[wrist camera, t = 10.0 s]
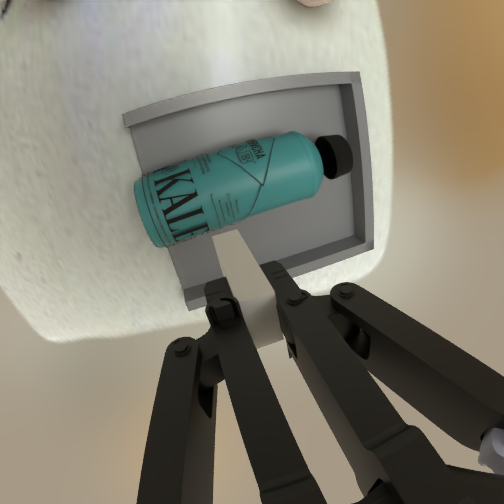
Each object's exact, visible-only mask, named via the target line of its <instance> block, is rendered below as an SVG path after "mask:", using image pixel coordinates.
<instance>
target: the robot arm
mask: <svg viewBox="0 0 504 504" xmlns="http://www.w3.org/2000/svg"><path fill="white" fill-rule="evenodd" d="M212 238H213V242H214V245H215V249H216V252H217V256H218V259H219V262H220V266H221V269H222V273H223V276H224V277H222V278H219V279H215V280H212V281H209V282H206V285H205V287H204V293H205V297H206V301H207V306H206V309H205V312H206V315H207V317H208V320H209V322H210V325H211V327H210V329H209V330H208V332H207V333H206V334H205V335H203V336H202V337H200V338H198V339H197V340H195V339H193V338H191V337H182V338H178V339H176V340H175V341H173V342H171V343H170V345H168V347H167V349H166V352H165V356H164V361H163V365H162V369H161V374H160V378H159V383H158V387H157V392H156V397H155V401H154V406H153V411H152V416H151V421H150V426H149V431H148V436H147V442H146V447H145V453H144V459H143V465H142V470H141V477H140V483H139V490H138V497H137V504H213V476H214V475H213V474H214V449H215V447H214V446H215V426H216V406H217V388H218V386H217V384H218V383H219V382H221V381H223V380H224V379H225V381H226V385H227V388H228V391H229V395H230V399H231V402H232V405H233V409H234V412H235V416H236V419H237V422H238V426H239V429H240V432H241V435H242V438H243V442H244V445H245V448H246V451H247V454H248V457H249V460H250V463H251V466H252V469H253V472H254V475H255V478H256V481H257V483H258V487H259V490H260V498H261V502H262V504H327V502H326V500H325V498H324V496H323V494H322V492H321V490H320V488H319V486H318V484H317V482H316V480H315V479H314V477H313V476H312V474H311V473H310V471H309V469H308V466H307V464H306V462H305V460H304V458H303V456H302V453H301V451H300V449H299V447H298V445H297V443H296V440H295V438H294V436H293V434H292V432H291V429H290V427H289V425H288V422H287V420H286V418H285V415H284V413H283V411H282V409H281V406H280V404H279V402H278V399H277V397H276V395H275V392H274V390H273V388H272V385H271V383H270V381H269V378H268V376H267V373H266V371H265V369H264V366H263V364H262V362H261V359H260V357H259V354H258V352H257V348H260V347H263V346H266V345H269V344H271V343H274V342H277V341H280V340H283V334H284V336H285V338H286V342H287V347H288V352H289V358H292V357H293V359H294V361H295V362H296V364H297V366H298V368H299V370H300V372H301V374H302V376H303V378H304V379H305V381H306V383H307V385H308V387H309V389H310V391H311V393H312V395H313V396H314V398H315V400H316V402H317V404H318V406H319V408H320V410H321V412H322V413H323V415H324V417H325V419H326V421H327V423H328V425H329V426H330V428H331V430H332V432H333V434H334V436H335V438H336V439H337V441H338V443H339V445H340V447H341V449H342V451H343V452H344V454H345V456H346V458H347V460H348V461H349V463H350V465H351V467H352V469H353V471H354V473H355V476H356V480H357V483H358V486H359V488H360V490H361V492H362V494H363V496H364V498H363V499H362V500H360V501H359V502H356V503H353V504H504V377H503V376H502V375H500V374H499V373H497V372H496V371H494V370H493V369H491V368H490V367H488V366H487V365H485V364H484V363H482V362H481V361H479V360H478V359H476V358H475V357H473V356H471V355H470V354H468V353H467V352H465V351H464V350H462V349H461V348H459V347H457V346H456V345H454V344H453V343H451V342H450V341H448V340H446V339H445V338H443V337H441V336H440V335H439V334H437V333H435V332H434V331H432V330H431V329H429V328H427V327H426V326H424V325H423V324H421V323H419V322H418V321H416V320H415V319H413V318H411V317H410V316H408V315H406V314H405V313H403V312H402V311H400V310H398V309H397V308H395V307H393V306H392V305H390V304H388V303H387V302H385V301H383V300H382V299H380V298H379V297H377V296H375V295H374V294H372V293H370V292H369V291H367V290H365V289H364V288H362V287H360V286H358V285H356V284H354V283H349V282H344V283H339V284H337V285H335V286H334V287H333V288H332V289H331V291H330V295H323V296H311V294H310V293H308V292H307V291H305V290H302V289H300V288H299V287H298V285H297V284H296V283H295V281H294V280H293V279H292V277H291V276H290V275H289V273H288V272H287V271H286V269H285V268H284V267H283V265H282V264H281V263H279V262H277V261H275V260H273V261H270V262H267V263H264V264H261V265H258V263H257V261H256V260H255V258H254V256H253V255H252V253H251V251H250V250H249V248H248V246H247V245H246V243H245V241H244V240H243V238H242V236H241V235H240V233H239V231H238V230H237V229H235V230H232V231H229V232H225V233H222V234H219V235H215V236H212ZM282 332H283V333H282ZM367 370H368V371H369V372H370V373H371V374H373V375H374V376H375V377H376V378H377V379H379V380H380V381H381V382H383V383H384V384H385V385H386V386H387V387H389V388H390V389H391V390H392V391H394V392H395V393H396V394H397V395H399V396H400V397H401V398H403V399H404V400H405V401H406V402H408V403H409V404H410V405H411V406H412V407H414V408H415V409H416V410H418V411H419V412H420V413H421V414H423V415H424V416H425V417H426V418H428V419H429V420H430V421H431V422H433V423H434V424H435V425H436V426H438V427H439V428H440V429H442V430H443V431H444V432H446V433H447V434H448V435H449V436H451V437H452V438H453V439H455V440H456V441H458V442H459V443H461V444H462V445H464V446H466V447H468V448H470V449H473V450H476V451H479V453H480V455H479V458H478V462H479V464H480V465H481V466H487V467H489V468H491V469H492V470H493V472H494V473H495V474H493V473H486V472H481V471H474V470H470V469H465V468H460V467H455V466H451V465H446V464H445V463H444V461H443V460H442V459H441V457H440V456H439V454H438V453H437V451H436V450H435V449H434V447H433V446H432V444H431V443H430V442H429V440H428V439H427V437H426V436H425V435H424V433H423V432H422V431H421V430H420V429H419V428H418V427H416V426H413V425H408V424H406V423H405V422H404V421H403V419H402V418H401V417H400V415H399V414H398V412H397V411H396V410H395V408H394V407H393V405H392V404H391V403H390V401H389V400H388V398H387V397H386V396H385V394H384V393H383V392H382V390H381V389H380V388H379V386H378V385H377V383H376V382H375V380H374V379H373V378H372V376H371V375H370V374H369V372H368V371H367Z"/></svg>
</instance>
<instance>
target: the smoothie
mask: <svg viewBox="0 0 504 504" xmlns="http://www.w3.org/2000/svg"><path fill="white" fill-rule="evenodd" d="M297 1H298V2H300V3H301V4H303V5H305V6H309V7H316V6H319V5H322V4H325V3H328V2H331V1H334V0H297Z"/></svg>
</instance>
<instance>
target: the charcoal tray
mask: <svg viewBox="0 0 504 504" xmlns="http://www.w3.org/2000/svg"><path fill="white" fill-rule="evenodd" d="M122 116H123V120H124V124H125V127H130V130H131V134H132V138H133V141H134V145H135V148H136V152H137V155H138V159H139V162H140V166H141V169H142V172H143V176H145V175H148V174H152V173H153V171H154V170H155V171H156V170H158V169H161V168H162V167H165V166H167V167H170V166H173V165H177V164H179V163H178V162H179V161H180V163H182V160H183V161H184V162H185V159H186V161H188V160H191V159H192V158H193V159H194V158H196V156H199V157H200V156H204V155H205V154H210V153H213V152H216V151H220V150H223V149H226V148H230V147H227V146H230V145H231V147H232V146H234V145H235V146H237V145H240V144H244V143H247V142H245V141H247V140H250V141H248V142H251V139H252V140H253V139H254V140H253V141H255V140H258V139H263V138H267V137H272V136H276V135H280V134H284V133H287V132H289V131H297V132H299V133H301V134H302V135H304V136H305V137H307V138H308V139H309V140H311V141H312V142H313V143H314V145H315V141H316V139H317V138H318V137H320V136H325V135H327V136H328V135H336V134H337V135H341V136H343V137H344V138H345V139H346V140H347V142H348V143H349V145H350V147H351V150H352V154H353V168H352V170H351V171H350V172H349V173H348V174H345V175H342V176H340V177H338V178H336V179H332V180H330V179H328V178H326V177H325V176H324V174H323V179H322V182H321V185H320V187H319V190H318V191H317V193H316V195H315V196H314V197H312V198H308V199H303V200H300V201H297V202H294V203H290V204H287V205H284V206H281V207H278V208H275V209H272V210H269V211H266V212H263V213H260V214H256V215H253V216H250V217H247V218H245V219H243V220H240V221H237V222H235V223H232V224H234V225H226V226H223V227H224V228H223V227H220V228H217V229H214V230H213V232H212V230H211V231H208V234H207V232H205V233H202V234H203V235H202V234H199V235H196V236H195V238H194V236H193V237H192V238H193V239H192V238H191V240H188V241H185V242H182V241H184V240H182V241H179V242H176V243H173V244H175V245H174V246H172V245H173V244H171V245H168V246H167V247H168V250H169V253H170V256H171V258H172V261H173V264H174V266H175V269H176V272H177V274H178V277H179V279H180V282H181V284H182V287H183V290H184V298H185V303H186V306H187V308H188V310H189V311H191V310H194V309H197V308H201V307H204V306H207V301H206V297H205V293H204V287H205V285H206V282H209V281H212V280H215V279H219V278H222V277H224V276H223V273H222V269H221V266H220V262H219V259H218V256H217V252H216V249H215V245H214V242H213V238H212V236H215V235H219V234H222V233H225V232H229V231H232V230H235V229H237V230H238V231H239V233H240V235H241V236H242V238H243V240H244V241H245V243H246V245H247V246H248V248H249V250H250V251H251V253H252V255H253V256H254V258H255V260H256V261H257V263H258V265H261V264H264V263H267V262H270V261H273V260H275V261H277V262H279V263H281V264H282V265H283V267H284V268H285V269H286V271H287V272H288V273H289V275H290V276H291V277H292V278H293V277H296V276H299V275H302V274H305V273H308V272H311V271H314V270H317V269H319V268H322V267H325V266H328V265H331V264H334V263H336V262H339V261H342V260H345V259H347V258H350V257H353V256H356V255H358V254H361V253H364V252H367V251H369V250H372V249H374V213H373V186H372V169H371V156H370V145H369V135H368V126H367V117H366V110H365V103H364V96H363V89H362V83H361V77H360V72H328V73H313V74H301V75H291V76H282V77H274V78H266V79H260V80H253V81H247V82H241V83H236V84H230V85H225V86H220V87H216V88H211V89H207V90H202V91H198V92H194V93H190V94H186V95H182V96H178V97H175V98H171V99H168V100H164V101H161V102H157V103H154V104H151V105H148V106H145V107H142V108H139V109H136V110H133V111H130V112H127V113H124V114H122ZM240 142H241V143H240ZM233 144H234V145H233ZM222 148H223V149H222ZM200 154H202V155H200ZM174 163H176V164H174ZM171 164H172V165H171ZM168 165H170V166H168ZM165 168H166V167H165ZM149 172H150V173H149ZM147 173H148V174H147ZM241 221H242V222H241ZM239 222H240V223H239ZM221 228H222V229H221ZM218 229H219V230H218ZM215 230H216V231H215ZM188 239H190V238H188ZM185 240H187V239H185ZM178 243H179V244H178ZM169 246H170V247H169Z"/></svg>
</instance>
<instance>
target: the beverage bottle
mask: <svg viewBox="0 0 504 504" xmlns="http://www.w3.org/2000/svg"><path fill="white" fill-rule="evenodd" d="M253 140H254V139H253ZM253 140H252V139H251V142H248V141H250V140H247V141H245V142H247V143H244V144H240V145H237V146H235V145H234V144H233V145H234V146H232V147H231V145H230V146H227V147H230V148H226V149H223V148H222V149H223V150H220V151H216V152H213V153H210V154H205V155H204V156H200V157H199V156H196V158H194V159H193V158H192V159H191V160H188V161H186V159H185V162H184V161H183V160H182V163H180V161H179V162H178V163H179V164H177V165H173V166H170V165H168V166H170V167H167V166H165V167H166V168H165V167H162V168H161V169H158V170H156V171H155V170H154V171H153V173H152V174H148V173H147V174H148V175H145V176H144V177H143V175H142V177H141V178H140V179H138V180H137V181H135V183H134V193H135V198H136V203H137V206H138V210H139V213H140V216H141V219H142V222H143V224H144V227H145V229H146V231H147V233H148V235H149V237H150V239H151V241H152V242H153V244H154V245H155V246H156V247H165V246H166V247H167V246H168V245H171V244H173V243H176V242H179V241H182V240H184V241H182V242H185V241H188V240H191V238H192V237H193V236H194V238H195V236H196V235H199V234H202V233H205V232H207V234H208V231H211V230H212V232H213V230H214V229H217V228H220V227H223V226H226V225H234V224H232V223H235V222H237V221H240V220H243V219H245V218H247V217H250V216H253V215H256V214H260V213H263V212H266V211H269V210H272V209H275V208H278V207H281V206H284V205H287V204H290V203H294V202H297V201H300V200H303V199H308V198H312V197H314V196H315V195H316V193H317V191H318V190H319V187H320V185H321V182H322V179H323V174H324V176H325V177H326V178H328V179H330V180H332V179H336V178H338V177H340V176H342V175H345V174H348V173H349V172H350V171H351V170H352V168H353V154H352V150H351V147H350V145H349V143H348V142H347V140H346V139H345V138H344V137H343V136H341V135H337V134H336V135H328V136H327V135H325V136H320V137H318V138H317V139H316V141H315V145H314V143H313V142H312V141H311V140H309V139H308V138H307V137H305V136H304V135H302V134H301V133H299V132H297V131H289V132H287V133H284V134H280V135H276V136H272V137H267V138H263V139H258V140H255V141H253ZM240 143H241V142H240ZM200 155H202V154H200ZM174 164H176V163H174ZM171 165H172V164H171ZM149 173H150V172H149ZM241 222H242V221H241ZM239 223H240V222H239ZM223 228H224V227H223ZM221 229H222V228H221ZM218 230H219V229H218ZM215 231H216V230H215ZM202 235H203V234H202ZM188 238H190V239H188ZM185 239H187V240H185ZM192 239H193V238H192ZM178 244H179V243H178ZM174 245H175V244H173V245H172V246H174ZM169 247H170V246H169ZM167 248H168V247H167Z"/></svg>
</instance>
